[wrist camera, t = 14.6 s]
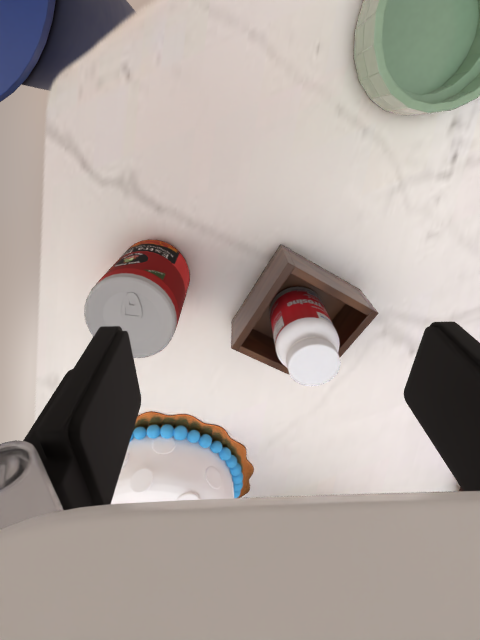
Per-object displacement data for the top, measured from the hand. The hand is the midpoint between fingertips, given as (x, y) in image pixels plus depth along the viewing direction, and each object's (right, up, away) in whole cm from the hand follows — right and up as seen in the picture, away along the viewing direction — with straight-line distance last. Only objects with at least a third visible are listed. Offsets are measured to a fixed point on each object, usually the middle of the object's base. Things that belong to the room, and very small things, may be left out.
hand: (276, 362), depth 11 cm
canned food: (-11, +7, +27) cm, 30 cm away
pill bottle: (+5, +3, +29) cm, 29 cm away
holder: (+5, +3, +29) cm, 30 cm away
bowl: (+14, +25, +17) cm, 33 cm away
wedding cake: (-13, -24, +45) cm, 52 cm away
